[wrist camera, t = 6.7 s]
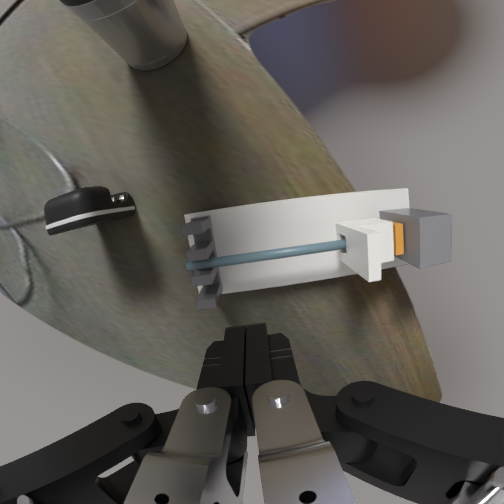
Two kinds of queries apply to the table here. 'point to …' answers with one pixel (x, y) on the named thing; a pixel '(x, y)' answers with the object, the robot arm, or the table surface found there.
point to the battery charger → (85, 209)
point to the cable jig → (302, 240)
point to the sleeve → (366, 246)
